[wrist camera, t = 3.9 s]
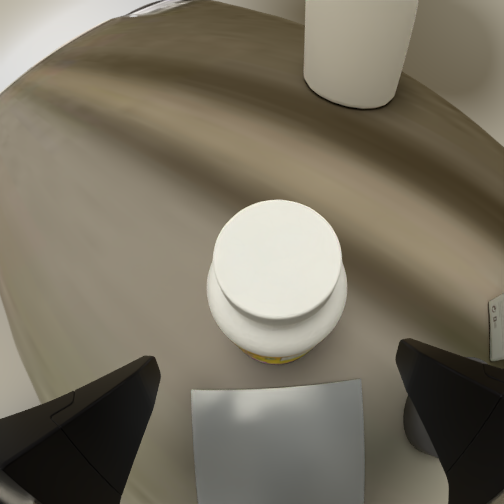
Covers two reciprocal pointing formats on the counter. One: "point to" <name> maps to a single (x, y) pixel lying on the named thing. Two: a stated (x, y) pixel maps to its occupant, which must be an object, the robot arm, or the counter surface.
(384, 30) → the white jar
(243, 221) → the supplement bottle
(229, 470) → the grey flat square piece
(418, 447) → the dark grey thick disc
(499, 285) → the counter surface
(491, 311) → the skincare box
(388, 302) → the counter surface
